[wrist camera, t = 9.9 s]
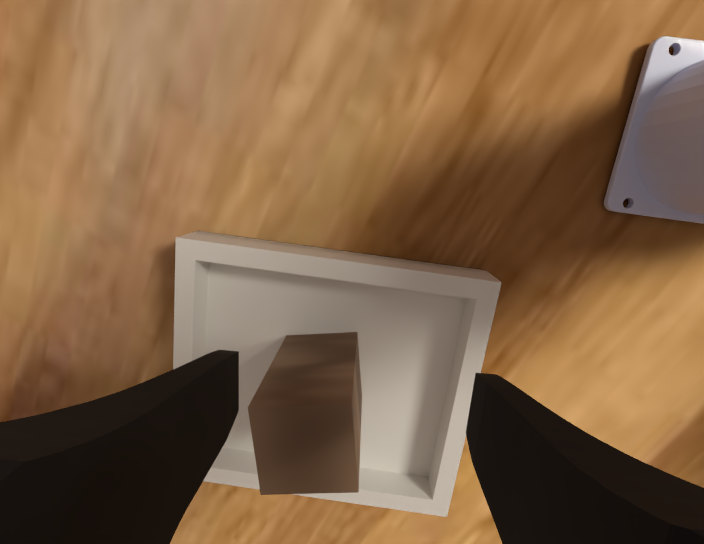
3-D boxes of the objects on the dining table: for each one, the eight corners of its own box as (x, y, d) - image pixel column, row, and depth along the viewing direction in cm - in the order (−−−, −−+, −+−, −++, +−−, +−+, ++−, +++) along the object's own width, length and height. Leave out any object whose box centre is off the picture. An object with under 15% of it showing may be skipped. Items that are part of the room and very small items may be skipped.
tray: (486, 270, 21) (501, 282, 18) (439, 483, 24) (446, 516, 22) (198, 230, 21) (175, 237, 19) (190, 446, 24) (171, 476, 22)
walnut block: (357, 331, 21) (351, 403, 14) (362, 396, 22) (358, 492, 15) (286, 335, 21) (247, 407, 15) (293, 398, 22) (260, 494, 16)
